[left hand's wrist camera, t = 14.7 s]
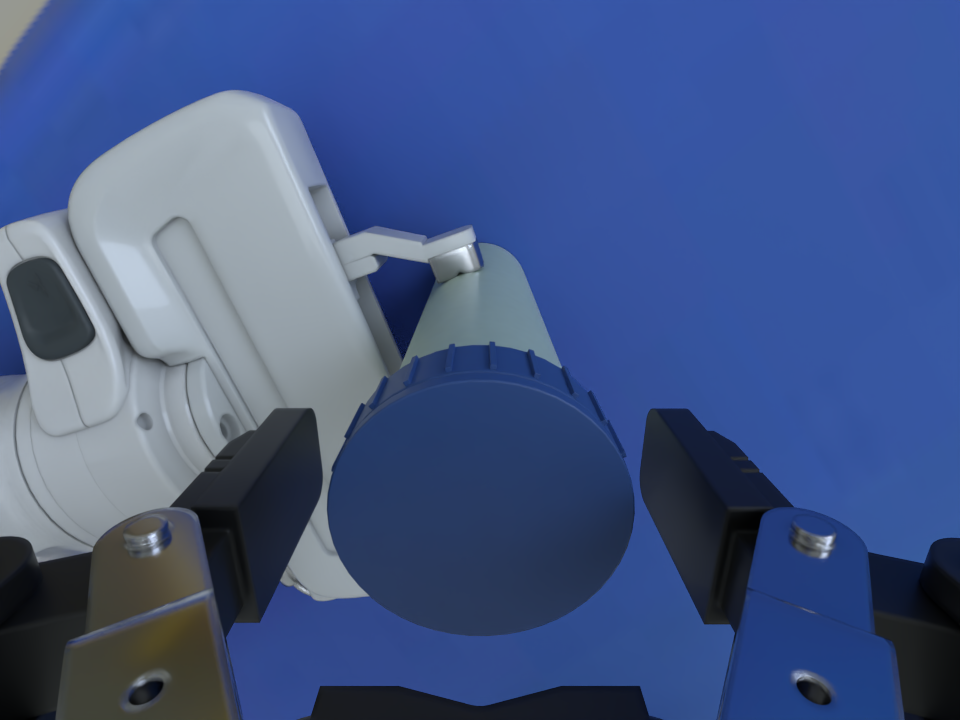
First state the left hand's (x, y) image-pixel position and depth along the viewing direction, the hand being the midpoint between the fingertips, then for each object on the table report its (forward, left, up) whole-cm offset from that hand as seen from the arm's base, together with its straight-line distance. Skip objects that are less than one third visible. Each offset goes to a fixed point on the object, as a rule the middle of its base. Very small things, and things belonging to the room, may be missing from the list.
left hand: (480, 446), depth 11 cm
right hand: (+1, -1, -9) cm, 9 cm away
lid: (0, 0, +2) cm, 2 cm away
